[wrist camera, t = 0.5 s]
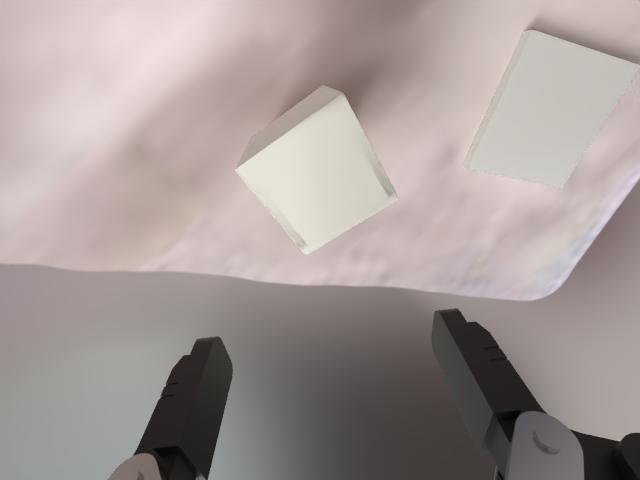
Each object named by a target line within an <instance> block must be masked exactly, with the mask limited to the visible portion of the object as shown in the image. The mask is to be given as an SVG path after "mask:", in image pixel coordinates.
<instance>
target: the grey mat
mask: <svg viewBox="0 0 640 480" xmlns="http://www.w3.org/2000/svg"><path fill="white" fill-rule="evenodd" d="M639 68H640V65H638V64H635V63H632V62H629V61H626V60H623V59H620V58H617V57H614V56H611V55H608V54H605V53H602V52H599V51H596V50H593V49H590V48H587V47H584V46H581V45H578V44H575V43H572V42H569V41H566V40H563V39H560V38H557V37H554V36H551V35H548V34H545V33H542V32H539V31H536V30H527V31H524V33H523V35H522V37H521V39H520V41H519V44H518V46H517V48H516V50H515V52H514V54H513V57H512V59H511V61H510V63H509V65H508V68H507V70H506V72H505V74H504V76H503V78H502V81H501V83H500V85H499V87H498V89H497V92H496V94H495V96H494V98H493V100H492V102H491V105H490V107H489V109H488V111H487V113H486V116H485V118H484V120H483V122H482V124H481V127H480V129H479V131H478V133H477V135H476V137H475V140H474V142H473V144H472V146H471V148H470V151H469V153H468V155H467V157H466V159H465V161H464V164H463V167H465V168H467V169H470V170H475V171H480V172H485V173H489V174H494V175H499V176H504V177H509V178H514V179H518V180H523V181H528V182H533V183H538V184H542V185H547V186H552V187H557V188H562V187H563V185H564V184H565V182H566V181H567V179H568V178H569V176H570V175H571V173H572V171H573V170H574V168H575V167H576V165H577V164H578V162H579V161H580V159H581V158H582V156H583V154H584V153H585V151H586V150H587V148H588V147H589V145H590V144H591V142H592V141H593V139H594V138H595V136H596V134H597V133H598V131H599V130H600V128H601V127H602V125H603V124H604V122H605V121H606V119H607V118H608V116H609V114H610V113H611V111H612V110H613V108H614V107H615V105H616V104H617V102H618V101H619V99H620V98H621V96H622V94H623V93H624V91H625V90H626V88H627V87H628V85H629V84H630V82H631V81H632V79H633V77H634V76H635V74H636V73H637V71H638V70H639Z"/></svg>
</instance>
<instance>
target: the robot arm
mask: <svg viewBox="0 0 640 480" xmlns="http://www.w3.org/2000/svg"><path fill="white" fill-rule="evenodd" d="M432 347H433V351H434V354H435V356H436V359H437V361H438V363H439V366H440V368H441V370H442V372H443V375H444V377H445V379H446V381H447V383H448V386H449V388H450V390H451V393H452V395H453V397H454V399H455V402H456V404H457V406H458V408H459V411H460V413H461V415H462V417H463V420H464V422H465V424H466V426H467V429H468V431H469V433H470V435H471V438H472V440H473V442H474V445H475V447H476V449H477V451H478V454H489V453H491V455H492V457H493V459H494V461H495V463H496V471H495V477H494V480H640V433H631V434H629V435H626V436H625V437H624V438H623V439H622V440H621V441H620V442H619V441H614V440H610V439H605V438H600V437H596V436H592V435H586V434H582V433H579V432H576V431H573V430H571V429H569V428H567V427H566V426H565V425H564V424H563V423H562V422H560V421H559V420H557V419H556V418H554V417H552V416H550V415H548V414H547V413H546V412H545V411H544V410H543V409H542V408H541V406H540V405H539V404H538V402H537V401H536V399H535V398H534V397H533V395H532V394H531V392H530V391H529V389H528V388H527V386H526V385H525V383H524V382H523V381H522V379H521V378H520V376H519V375H518V373H517V372H516V370H515V369H514V368H513V366H512V364H511V363H510V362H509V360H507V357H506V356H505V354H504V353H503V351H502V350H501V349H500V348H499V346H498V344H497V343H496V341H495V340H494V338H493V337H492V336H491V334H490V332H488V331H487V330H486V329H484V328H483V327H482V326H481V325H479V324H478V323H477V322H468V323H467V322H466V320H465V318H464V317H463V315H462V314H461V312H460V311H459V310H458V309H456V308H455V309H448V310H438V311H435V313H434V321H433V329H432ZM232 373H233V369H232V362H231V360H230V358H229V355H228V353H227V351H226V348H225V346H224V344H223V342H222V340H221V338H220V337H209V338H201V339H197V340H196V342H195V344H194V346H193V349H192V351H191V354H190V355H184V356H183V357H182V358H181V359H180V361H179V362H178V363H177V364H176V365H175V366H174V368H173V369H172V371H171V374H170V376H169V378H168V380H167V382H166V387H164V389H163V391H162V394H161V398H160V399H159V401H158V403H157V405H156V407H155V410H154V412H153V414H152V417H151V419H150V421H149V423H148V426H147V428H146V430H145V432H144V435H143V437H142V439H141V441H140V444H139V446H138V448H137V450H136V452H135V453H134V455H133V456H132V457H130V458H129V459H127V460H126V461H124V462H123V463H122V464H121V465H120V466H119V467H118V468H117V469H116V470H115V471H114V472H113V473H112V475H111V476H110V477H109V479H108V480H208V476H209V471H210V468H211V464H212V459H213V455H214V451H215V447H216V443H217V438H218V434H219V430H220V426H221V422H222V418H223V413H224V409H225V405H226V401H227V397H228V392H229V388H230V384H231V380H232Z"/></svg>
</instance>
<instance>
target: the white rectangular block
mask: <svg viewBox="0 0 640 480" xmlns="http://www.w3.org/2000/svg"><path fill="white" fill-rule="evenodd" d="M235 171H236V172H237V173H238V175H239V176H240V177H241V178H242V179H243V181H244V182H245V183H246V184H247V185H248V187H249V188H250V189H251V190H252V191H253V193H254V194H255V195H256V196H257V197H258V199H259V200H260V201H261V202H262V203H263V205H264V206H265V207H266V208H267V209H268V211H269V212H270V213H271V214H272V215H273V217H274V218H275V219H276V220H277V221H278V223H279V224H280V225H281V226H282V227H283V229H284V230H285V231H286V232H287V233H288V235H289V236H290V237H291V238H292V239H293V241H294V242H295V243H296V244H297V245H298V247H299V248H300V249H301V250H302V251H303V253H304V254H305V255H307V254H309V253H311V252H312V251H314V250H316V249H317V248H319V247H321V246H322V245H324V244H326V243H327V242H329V241H331V240H332V239H334V238H336V237H337V236H339V235H341V234H342V233H344V232H346V231H347V230H349V229H350V228H352V227H354V226H355V225H357V224H359V223H360V222H362V221H364V220H365V219H367V218H369V217H370V216H372V215H374V214H375V213H377V212H379V211H380V210H382V209H384V208H385V207H387V206H389V205H390V204H392V203H394V202H395V201H397V200H399V197H398V195H397V193H396V191H395V189H394V187H393V185H392V184H391V182H390V180H389V178H388V176H387V174H386V172H385V170H384V169H383V167H382V165H381V163H380V161H379V159H378V157H377V155H376V153H375V152H374V150H373V148H372V146H371V144H370V142H369V140H368V138H367V137H366V135H365V133H364V131H363V129H362V127H361V125H360V123H359V121H358V120H357V118H356V116H355V114H354V112H353V110H352V108H351V106H350V105H349V103H348V101H347V99H346V97H345V95H344V93H343V92H341V91H338V90H336V89H333V88H330V87H327V86H325V85H322V86H321V87H320V88H318V89H317V90H315V91H314V92H313V93H311V94H310V95H309V96H307V97H306V98H305V99H303V100H302V101H300V102H299V103H298V104H296V105H295V106H294V107H292V108H291V109H290V110H288V111H287V112H285V113H284V114H283V115H281V116H280V117H279V118H277V119H276V120H275V121H273V122H272V123H270V124H269V125H268V126H266V127H265V128H264V129H262V130H261V131H260V132H258V133H257V134H256V135H254V136H253V137H251V139H250V141H249V143H248V145H247V147H246V149H245V151H244V153H243V155H242V157H241V159H240V160H239V162H238V164H237V166H236V168H235Z"/></svg>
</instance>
